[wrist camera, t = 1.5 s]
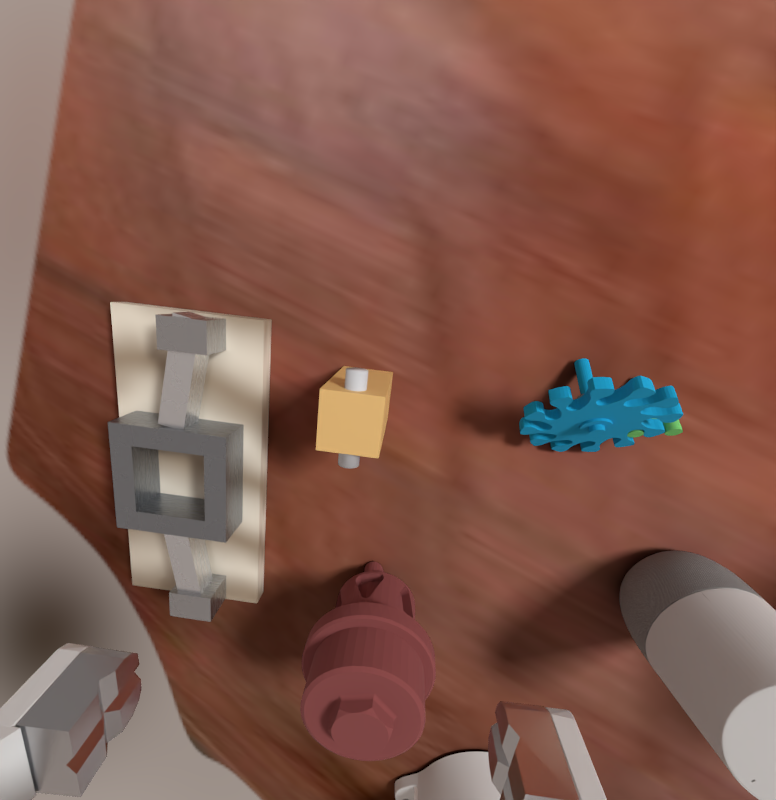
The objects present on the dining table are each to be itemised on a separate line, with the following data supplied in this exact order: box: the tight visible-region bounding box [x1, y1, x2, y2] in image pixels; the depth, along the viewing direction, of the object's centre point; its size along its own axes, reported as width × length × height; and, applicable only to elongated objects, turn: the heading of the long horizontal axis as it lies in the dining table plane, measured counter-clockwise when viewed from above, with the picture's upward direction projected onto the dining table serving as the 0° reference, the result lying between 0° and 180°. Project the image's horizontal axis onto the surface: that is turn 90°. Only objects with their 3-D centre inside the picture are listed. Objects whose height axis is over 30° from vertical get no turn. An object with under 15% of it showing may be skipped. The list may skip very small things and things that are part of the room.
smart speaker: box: [619, 551, 776, 800], centre depth 27 cm, size 10×9×14 cm
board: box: [110, 302, 272, 603], centre depth 33 cm, size 26×12×2 cm, turn 174°
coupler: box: [316, 366, 393, 468], centre depth 27 cm, size 6×4×8 cm, turn 174°
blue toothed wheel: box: [519, 359, 683, 452], centre depth 28 cm, size 11×6×10 cm
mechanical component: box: [300, 562, 436, 761], centre depth 30 cm, size 12×10×10 cm
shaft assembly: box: [108, 312, 244, 622], centre depth 31 cm, size 26×9×3 cm, turn 174°
